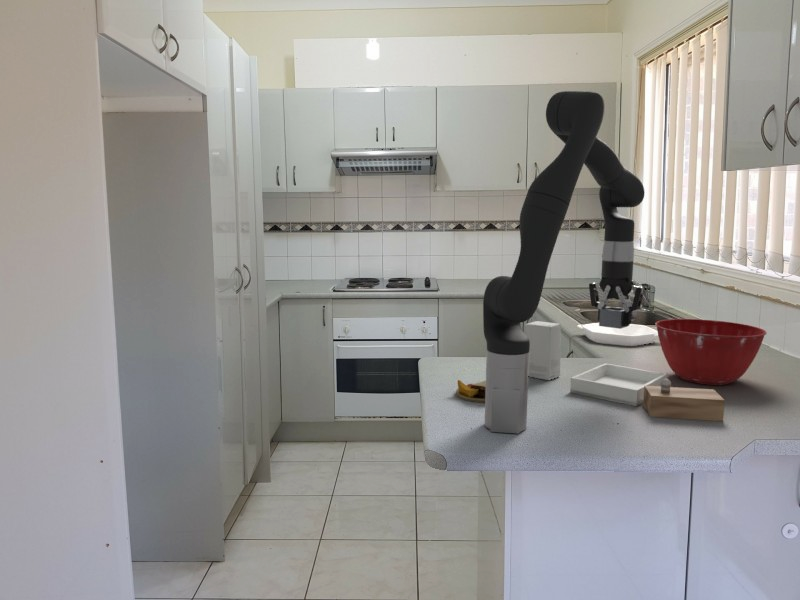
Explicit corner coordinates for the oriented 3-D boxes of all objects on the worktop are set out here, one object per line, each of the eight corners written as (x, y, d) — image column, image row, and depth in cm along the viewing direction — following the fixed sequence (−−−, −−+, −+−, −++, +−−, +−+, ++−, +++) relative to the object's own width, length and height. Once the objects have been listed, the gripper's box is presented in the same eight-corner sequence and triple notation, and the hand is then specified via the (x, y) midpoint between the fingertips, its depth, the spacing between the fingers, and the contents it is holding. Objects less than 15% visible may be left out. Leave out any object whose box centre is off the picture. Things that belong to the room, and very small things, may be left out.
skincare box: (560, 377, 188) (563, 323, 186) (548, 381, 184) (551, 326, 181) (535, 372, 194) (537, 320, 192) (522, 376, 189) (524, 322, 187)
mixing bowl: (657, 362, 207) (661, 314, 205) (760, 374, 194) (765, 322, 192) (645, 383, 182) (649, 329, 180) (762, 398, 169) (768, 339, 167)
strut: (644, 320, 176) (645, 304, 176) (620, 328, 165) (621, 311, 164) (623, 318, 180) (624, 302, 179) (599, 325, 168) (600, 308, 168)
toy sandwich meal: (485, 387, 178) (485, 370, 177) (517, 400, 166) (517, 382, 165) (446, 393, 172) (446, 376, 171) (476, 407, 160) (477, 388, 159)
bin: (636, 406, 162) (637, 390, 161) (570, 392, 173) (570, 377, 172) (666, 388, 178) (667, 373, 177) (604, 376, 189) (605, 363, 189)
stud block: (723, 421, 151) (725, 387, 150) (649, 416, 154) (652, 382, 153) (712, 409, 160) (714, 377, 159) (643, 405, 163) (645, 373, 161)
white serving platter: (568, 341, 240) (569, 329, 239) (584, 330, 261) (585, 319, 261) (657, 351, 225) (658, 338, 224) (667, 338, 247) (668, 327, 246)
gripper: (651, 259, 164) (647, 326, 167) (597, 256, 173) (593, 319, 176) (640, 261, 159) (636, 330, 161) (584, 258, 168) (581, 323, 170)
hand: (614, 324), depth 168 cm, fingers closed on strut, 5 cm apart
